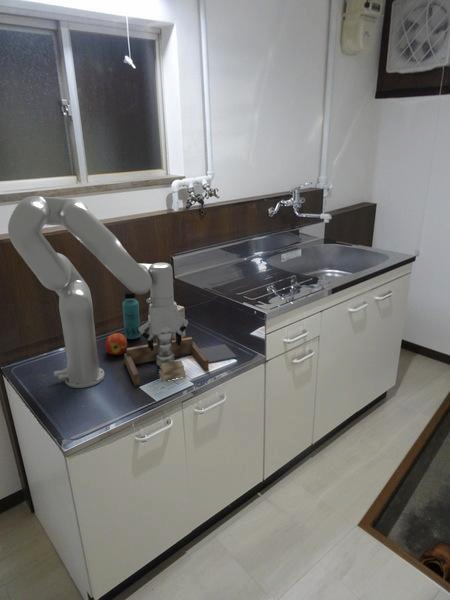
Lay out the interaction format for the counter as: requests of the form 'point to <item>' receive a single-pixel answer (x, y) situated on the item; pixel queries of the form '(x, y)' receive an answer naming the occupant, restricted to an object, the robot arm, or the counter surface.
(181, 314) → the supplement box
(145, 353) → the frame
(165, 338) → the plastic bottle
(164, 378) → the bottom offcut
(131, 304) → the beverage bottle
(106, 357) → the counter surface
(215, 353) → the mat
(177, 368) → the top offcut
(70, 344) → the robot arm
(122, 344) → the apple
